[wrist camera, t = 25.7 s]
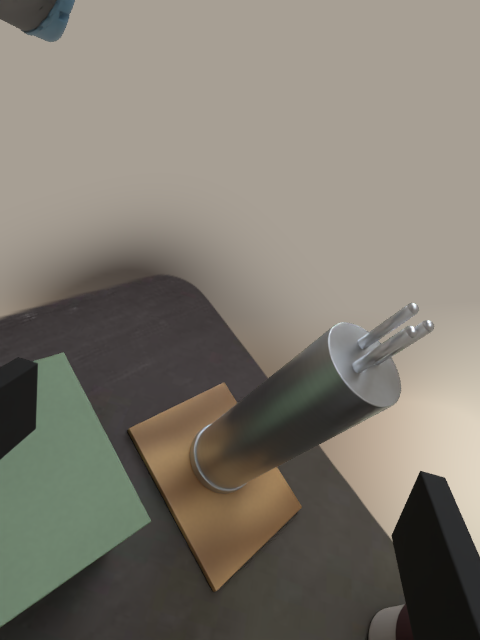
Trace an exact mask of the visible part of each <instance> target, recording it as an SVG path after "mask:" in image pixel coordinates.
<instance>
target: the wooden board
mask: <svg viewBox="0 0 480 640" xmlns="http://www.w3.org/2000/svg"><path fill="white" fill-rule="evenodd" d="M236 404H237V402H236V400H235V399H234V397H233V396H232V394H231V392H230V391H229V389H228V388H227V386H226V384H225V383H222V384H220V385H218V386H216V387H214V388H211V389H209V390H207V391H205V392H203V393H201V394H199V395H197V396H195V397H193V398H191V399H189V400H187V401H185V402H183V403H181V404H178V405H176V406H174V407H172V408H170V409H168V410H166V411H164V412H162V413H160V414H158V415H156V416H154V417H152V418H150V419H148V420H145V421H143V422H141V423H139V424H137V425H135V426H133V427H131V428H129V429H128V430H127V431H128V433H129V435H130V437H131V439H132V440H133V442H134V444H135V446H136V448H137V450H138V452H139V454H140V455H141V457H142V459H143V461H144V463H145V465H146V467H147V468H148V470H149V472H150V474H151V476H152V478H153V480H154V482H155V483H156V485H157V487H158V489H159V491H160V493H161V495H162V497H163V498H164V500H165V502H166V504H167V506H168V508H169V510H170V512H171V513H172V515H173V517H174V519H175V521H176V523H177V525H178V526H179V528H180V530H181V532H182V534H183V536H184V538H185V540H186V541H187V543H188V545H189V547H190V549H191V551H192V553H193V555H194V556H195V558H196V560H197V562H198V564H199V566H200V568H201V570H202V571H203V573H204V575H205V577H206V579H207V581H208V583H209V584H210V586H211V588H212V590H213V592H215V591H217V590H218V589H219V588H220V587H221V586H222V585H223V584H224V583H225V582H226V581H227V580H228V579H229V578H230V577H232V576H233V575H234V574H235V573H236V572H237V571H238V570H239V569H240V568H241V567H242V566H243V565H244V564H245V563H246V562H247V561H248V560H249V559H250V558H251V557H252V556H253V555H254V554H255V553H256V552H257V551H258V550H259V549H260V548H261V547H262V546H263V545H264V544H265V543H266V542H267V541H268V540H269V539H270V538H271V537H272V536H273V535H274V534H275V533H276V532H277V531H278V530H279V529H280V528H281V527H282V526H283V525H284V524H285V523H286V522H287V521H289V520H290V519H291V518H292V517H293V516H294V515H295V514H296V513H297V512H298V511H299V510H300V509H301V508H302V506H301V505H300V503H299V502H298V500H297V498H296V497H295V495H294V494H293V492H292V490H291V489H290V487H289V486H288V484H287V482H286V481H285V479H284V477H283V476H282V474H281V473H280V471H279V469H278V468H277V467H276V468H274V469H272V470H270V471H268V472H266V473H264V474H262V475H260V476H259V477H257V478H255V479H253V480H251V481H249V482H247V483H246V484H245V485H244V486H243V487H242V488H240V489H239V490H237V491H235V492H232V493H228V494H221V493H216V492H213V491H211V490H209V489H208V488H206V487H205V486H204V485H203V484H202V483H201V482H200V481H199V480H198V478H197V477H196V475H195V473H194V471H193V469H192V466H191V461H190V448H191V444H192V441H193V439H194V437H195V436H196V434H197V433H198V432H199V431H200V430H202V429H203V428H204V427H206V426H207V425H209V424H212V423H213V422H215V421H216V420H217V419H218V418H220V417H221V416H222V415H223V414H225V413H226V412H227V411H228V410H230V409H231V408H232V407H233V406H235V405H236Z"/></svg>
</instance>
